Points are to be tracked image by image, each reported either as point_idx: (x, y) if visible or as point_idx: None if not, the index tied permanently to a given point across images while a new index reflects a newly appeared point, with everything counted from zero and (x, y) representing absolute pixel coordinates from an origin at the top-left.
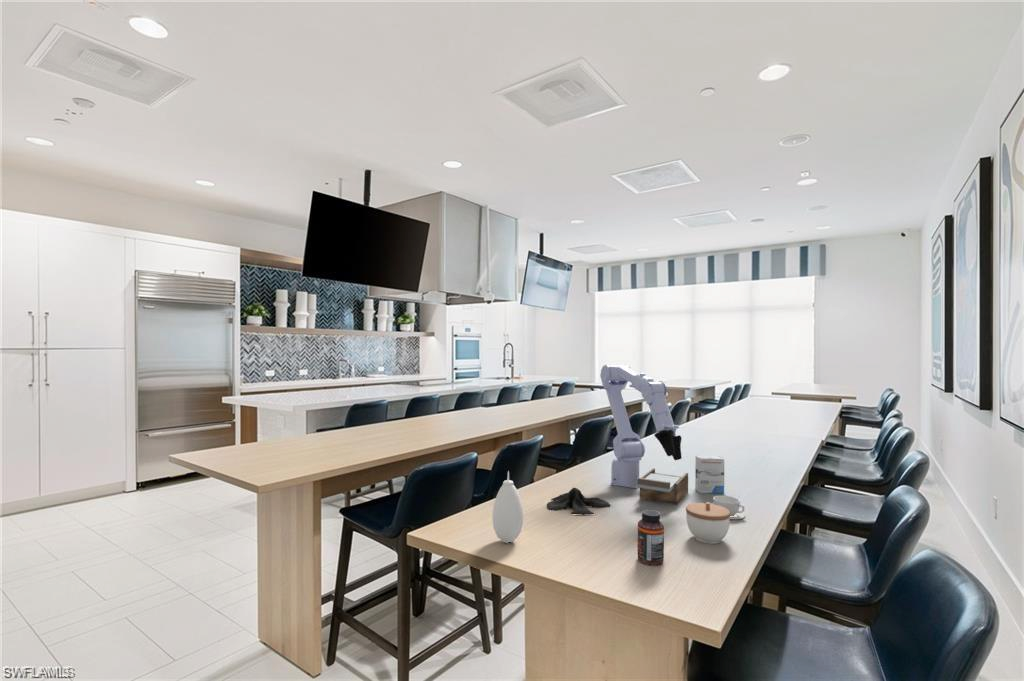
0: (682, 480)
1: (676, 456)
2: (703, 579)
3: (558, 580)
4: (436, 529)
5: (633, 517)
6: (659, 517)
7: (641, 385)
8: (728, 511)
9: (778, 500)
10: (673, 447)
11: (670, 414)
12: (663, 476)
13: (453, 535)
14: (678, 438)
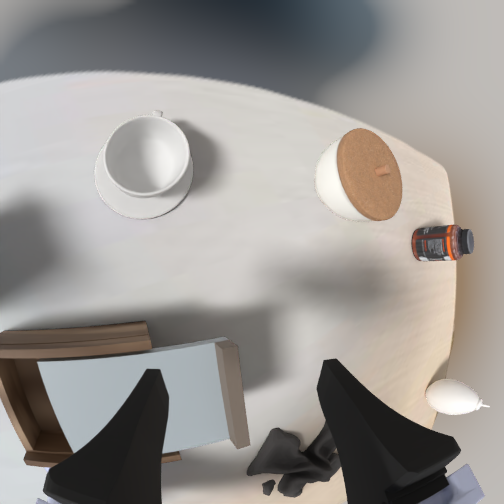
0: (59, 346)
1: (161, 401)
2: (417, 181)
3: (455, 297)
4: None
5: (310, 358)
6: (466, 229)
7: None
8: (363, 130)
9: None
10: (357, 382)
11: None
12: (77, 419)
13: (425, 426)
14: (120, 493)
